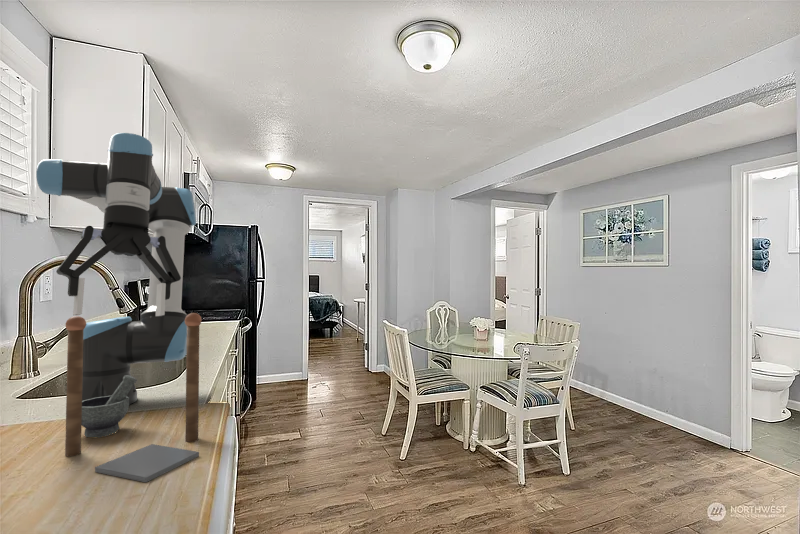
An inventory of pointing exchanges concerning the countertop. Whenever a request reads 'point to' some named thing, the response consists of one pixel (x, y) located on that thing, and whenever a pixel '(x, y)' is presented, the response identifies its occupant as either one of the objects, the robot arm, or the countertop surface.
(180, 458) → the slate pad
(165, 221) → the robot arm
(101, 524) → the countertop surface
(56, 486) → the countertop surface
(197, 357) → the post
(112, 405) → the mortar and pestle
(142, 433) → the countertop surface
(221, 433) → the countertop surface
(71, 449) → the post
